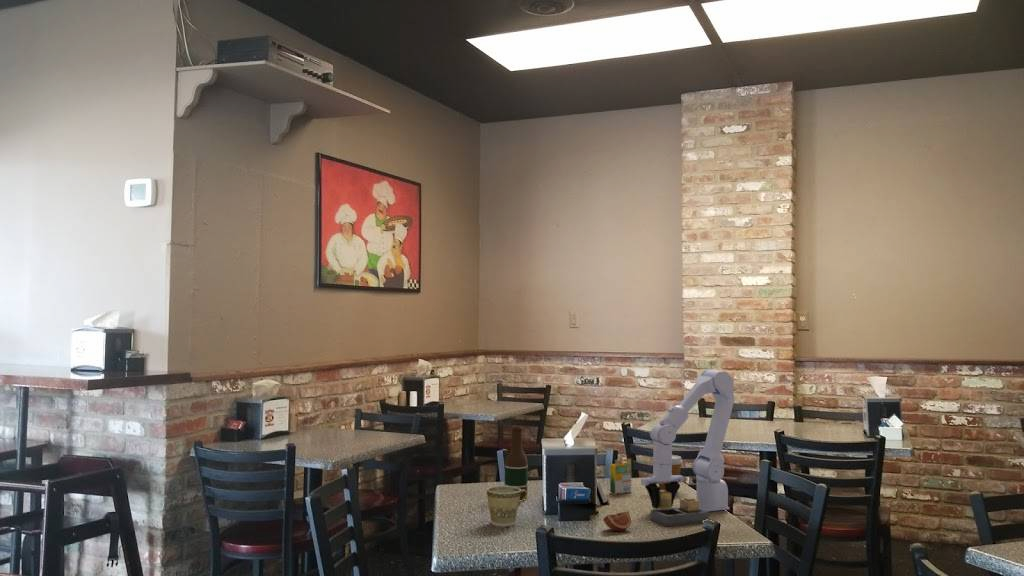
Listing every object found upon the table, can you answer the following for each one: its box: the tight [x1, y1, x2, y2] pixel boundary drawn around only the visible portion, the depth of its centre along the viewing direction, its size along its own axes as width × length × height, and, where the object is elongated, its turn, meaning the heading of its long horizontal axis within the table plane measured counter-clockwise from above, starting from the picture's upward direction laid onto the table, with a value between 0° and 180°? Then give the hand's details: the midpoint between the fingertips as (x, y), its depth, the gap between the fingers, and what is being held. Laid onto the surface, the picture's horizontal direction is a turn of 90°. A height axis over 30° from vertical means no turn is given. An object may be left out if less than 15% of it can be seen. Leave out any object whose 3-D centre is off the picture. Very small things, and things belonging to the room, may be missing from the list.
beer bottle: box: [504, 425, 529, 500], centre depth 264 cm, size 8×8×24 cm
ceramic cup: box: [486, 485, 528, 528], centre depth 233 cm, size 13×10×10 cm
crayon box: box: [609, 458, 632, 495], centre depth 276 cm, size 7×3×12 cm, turn 120°
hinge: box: [596, 479, 611, 506], centre depth 264 cm, size 17×5×10 cm, turn 22°
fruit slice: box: [603, 510, 632, 532], centre depth 226 cm, size 8×7×5 cm
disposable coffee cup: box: [658, 454, 683, 493], centre depth 279 cm, size 10×10×12 cm
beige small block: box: [652, 490, 672, 510], centre depth 249 cm, size 4×4×6 cm
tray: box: [650, 496, 710, 528], centre depth 237 cm, size 15×8×6 cm, turn 114°
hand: (662, 506), depth 249 cm, fingers open, 5 cm apart
